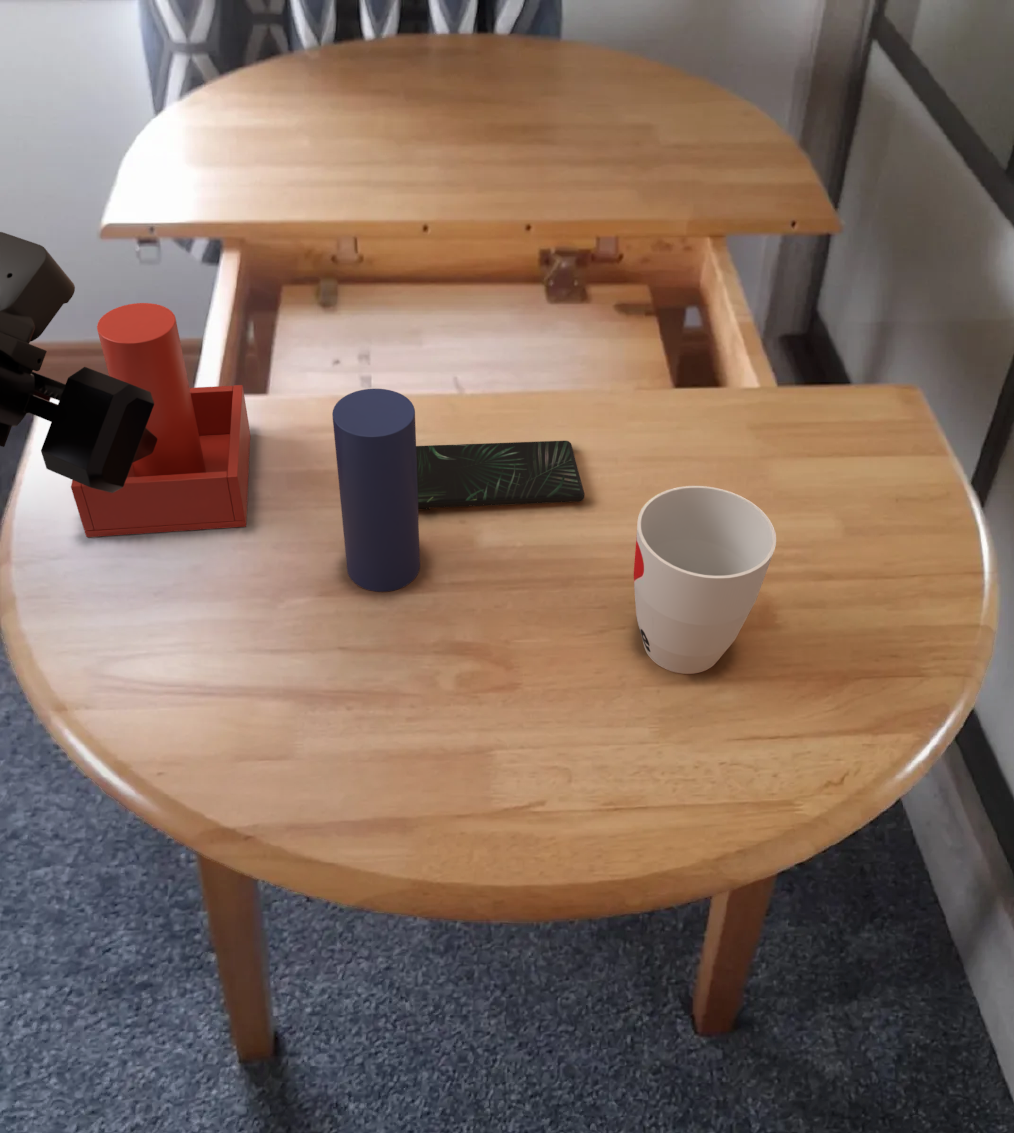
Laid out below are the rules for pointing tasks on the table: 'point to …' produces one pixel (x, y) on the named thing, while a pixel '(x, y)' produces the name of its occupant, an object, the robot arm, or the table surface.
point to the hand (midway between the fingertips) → (98, 423)
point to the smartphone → (497, 474)
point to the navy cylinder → (378, 487)
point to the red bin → (183, 479)
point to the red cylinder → (155, 383)
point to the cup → (697, 573)
